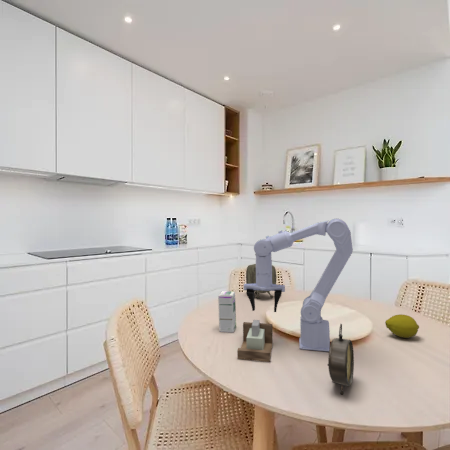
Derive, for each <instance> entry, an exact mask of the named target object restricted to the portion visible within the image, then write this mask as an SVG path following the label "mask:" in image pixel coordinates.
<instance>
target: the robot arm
mask: <svg viewBox="0 0 450 450" xmlns="http://www.w3.org/2000/svg"><path fill="white" fill-rule="evenodd" d="M315 235H319V236H324V237H325V236H326V235H328V237H329V238H330V239H331V240H332V241H333V245H334V246H335V250H334V251H335V252H334V253H333V254H332V256H331V259H330V260H329V262H328V263H327V266H326V267H325V269H324V271H323V273H322V274H321V276H320V277H319V280H318V281H317V283H316V284H315V287H314V289H312V291H311V293H310V295H309V296H307V297H305V298H304V299H303V301H302V307H301V309H300V319H299V320H300V322H299V323H300V337H299V338H298V343H299V349H300V350H307V351H308V350H309V351H317V352H329V349H330V344H331V338H330V337H331V336H330V334H331V333H330V331H331V330H330V323H329V320H327V319H324V318H323V317H322V316H321V315H322V311H321V310H322V309H323V306H324V305H325V303H326V299H327V297H328V295H329V294H330V292H331V290H332V289H333V288H334V286H335V284H336V283H337V280H338V278H339V276H340V274H341V273H342V271H343V270H344V268H345V266H346V264H347V263H348V261H349V259H350V258H351V256H352V254H353V251H354V248H353V242H352V233H351V229H350V228H349V226H348V224H347V223H346V222H345V221H344V220H343V219H341V218H332V219H331V220H324V221H320V222H315V223H313V224H311V225H308V226H305V227H303V228H300V229H297V230H294V231H293V232H289V231H287V230H284V231H283V230H278V233H275V234H272V235H270V236H269V235H267V236H265V238H262V239H259V240H258V241H256V242H255V243H254V246H253V250H254V253H255V254H256V255H255V264H256V283H254V284H246V283H244V284H243V291H246V293H245V294H246V296H247V297H248V300H249V302H250V306H251V309H252V310H251V311H252V312H255V310H256V302H255V300H256V299H255V297H256V296H255V295H256V294H255V290H262V291H269V292H273V295H274V296H273V300H274V301H273V302H274V305H273V312H274V313H277V307H278V303H279V301H280V299H281V297H282V293H285V292H286V285H285V284H277V283H276V284H272V265H273V260H272V253H276V252H279V251H282V250H285V249H288V248H291V247H292V246H293V244H294V242H296V241H300V240H303V239H307V238H309V237H312V236H315Z"/></svg>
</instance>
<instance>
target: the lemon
mask: <svg viewBox="0 0 450 450" xmlns="http://www.w3.org/2000/svg"><path fill="white" fill-rule="evenodd" d="M384 324H385V327H386V329H388V330H389V331H390V332H391V333H392V334H393V335H395V336H397V337H399V338H404V339H407V338H409V339H410V338H412V337H415V336H416V335H417V333H418V331H419V329H420V325H419V324H418V323H417V321H416V320H415V318H414V317H412V316H410V315H407V314H394V315H392V316H391V317H389V318H388V319H386V320H385V322H384Z"/></svg>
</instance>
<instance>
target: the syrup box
mask: <svg viewBox="0 0 450 450" xmlns="http://www.w3.org/2000/svg"><path fill="white" fill-rule="evenodd" d="M217 297H218V300H217V301H218V325H219V327H218V330H219V332H222V333H235V330H236V328H237V312H236V311H237V307H236V292H235V291H234V290H222V291H221V292H220V293H219V294H218V295H217Z"/></svg>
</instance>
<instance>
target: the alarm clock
mask: <svg viewBox="0 0 450 450" xmlns="http://www.w3.org/2000/svg"><path fill="white" fill-rule="evenodd" d="M338 333H339V334H338V337H334V338H333V339H332V340H331V341H330V349H329V351H328V357H327V358H328V363H327V366H328V373H329V377H330V380H331V382H334V383H335V384H339V385H340V395H342V396H343V395H344V389H345V386H347V387H350V386H351V385H352V383H353V378H354V370H355V368H354V367H355V357H354V355H355V354H354V353H355V352H354V345H353V341H352V340H351V339H347V338H343V324H342V323H340V325H339V331H338Z"/></svg>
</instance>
